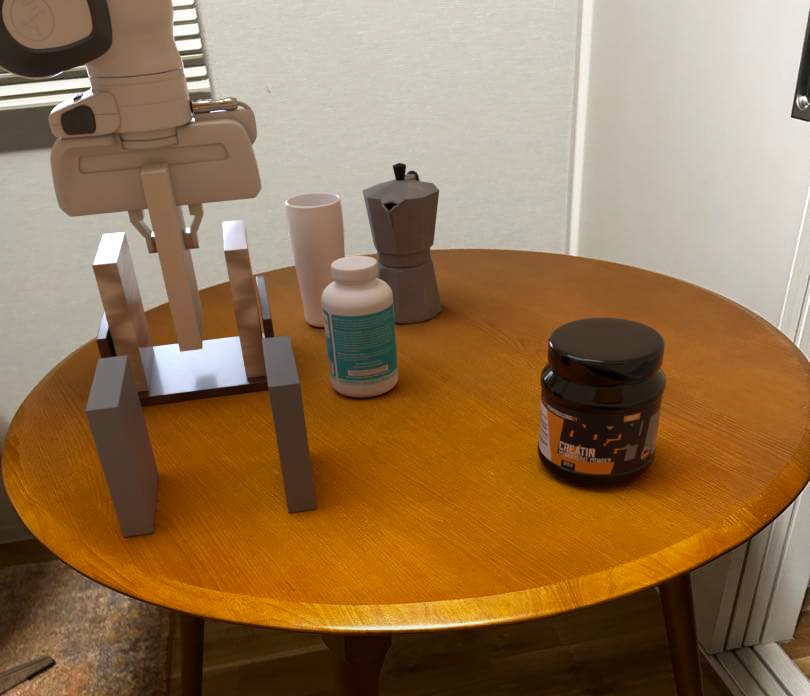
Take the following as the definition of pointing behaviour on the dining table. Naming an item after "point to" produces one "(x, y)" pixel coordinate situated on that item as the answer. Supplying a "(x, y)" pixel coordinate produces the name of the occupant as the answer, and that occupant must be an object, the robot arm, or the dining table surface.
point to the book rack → (165, 365)
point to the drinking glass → (315, 246)
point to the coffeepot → (405, 242)
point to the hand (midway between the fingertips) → (174, 249)
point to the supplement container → (601, 401)
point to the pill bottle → (360, 329)
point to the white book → (174, 256)
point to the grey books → (132, 452)
